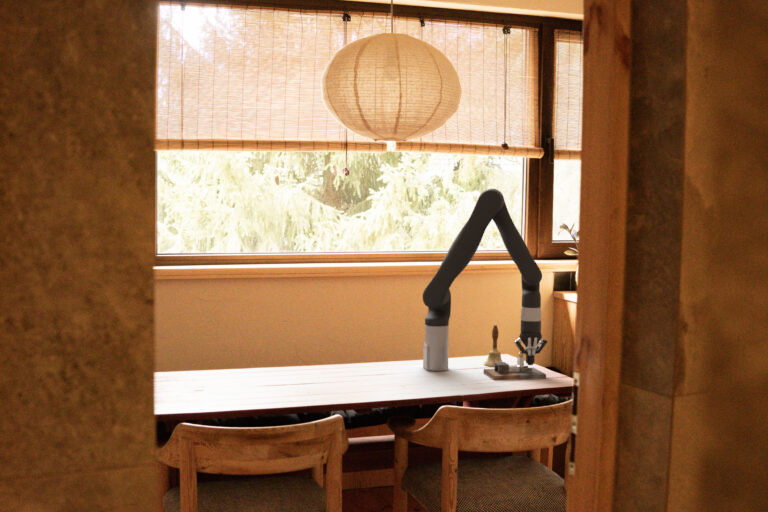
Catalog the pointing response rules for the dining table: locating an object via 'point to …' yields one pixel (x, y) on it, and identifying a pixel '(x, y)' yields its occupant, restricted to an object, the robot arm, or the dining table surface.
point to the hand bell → (494, 350)
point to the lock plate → (513, 373)
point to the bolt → (518, 364)
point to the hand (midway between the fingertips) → (530, 364)
